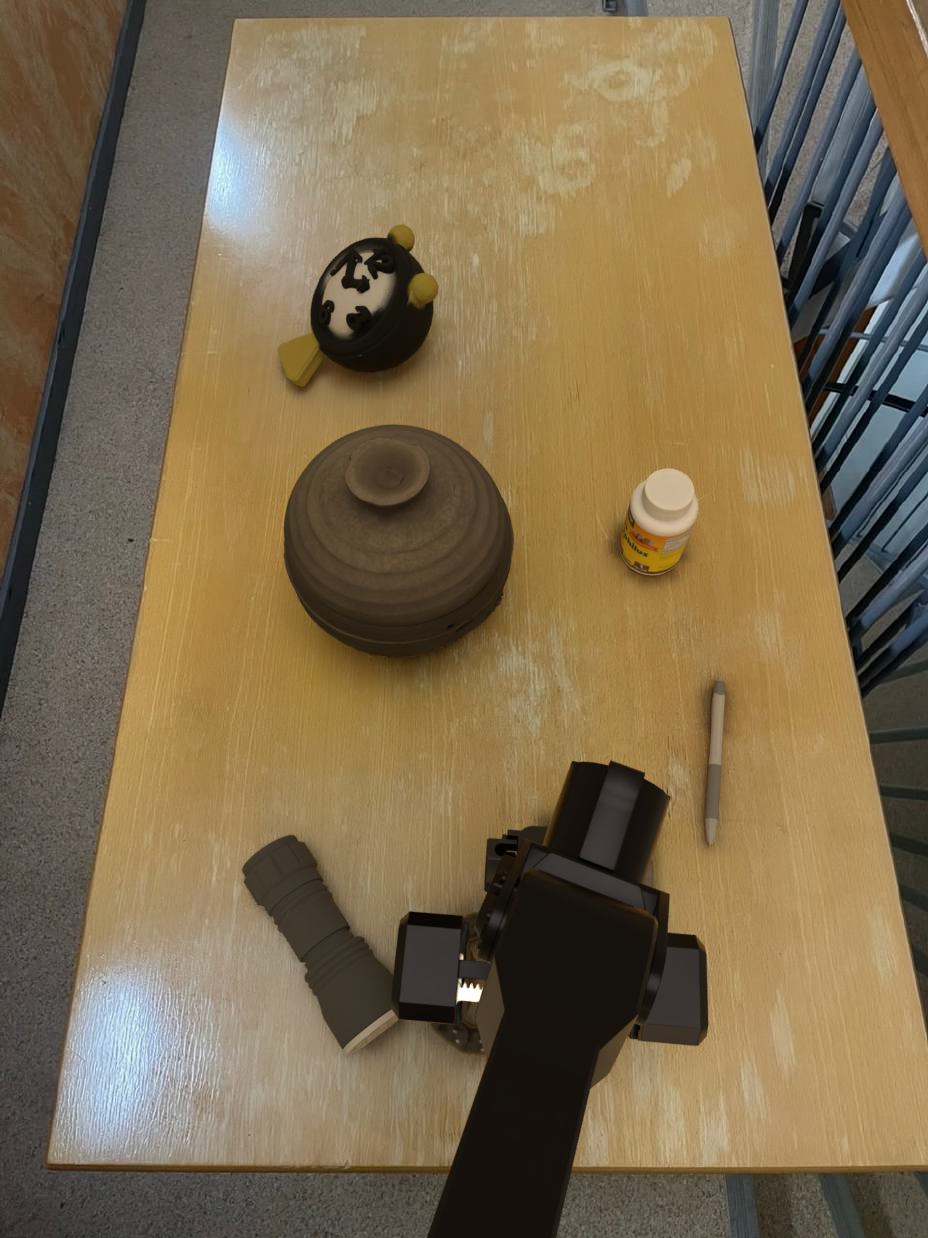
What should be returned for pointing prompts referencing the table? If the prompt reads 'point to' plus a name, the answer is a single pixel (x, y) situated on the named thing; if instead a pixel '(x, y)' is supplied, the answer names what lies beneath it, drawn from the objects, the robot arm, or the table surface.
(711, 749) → the pen
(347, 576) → the pot
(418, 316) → the alarm clock
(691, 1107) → the table surface
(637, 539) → the supplement bottle
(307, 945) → the flashlight
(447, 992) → the robot arm
